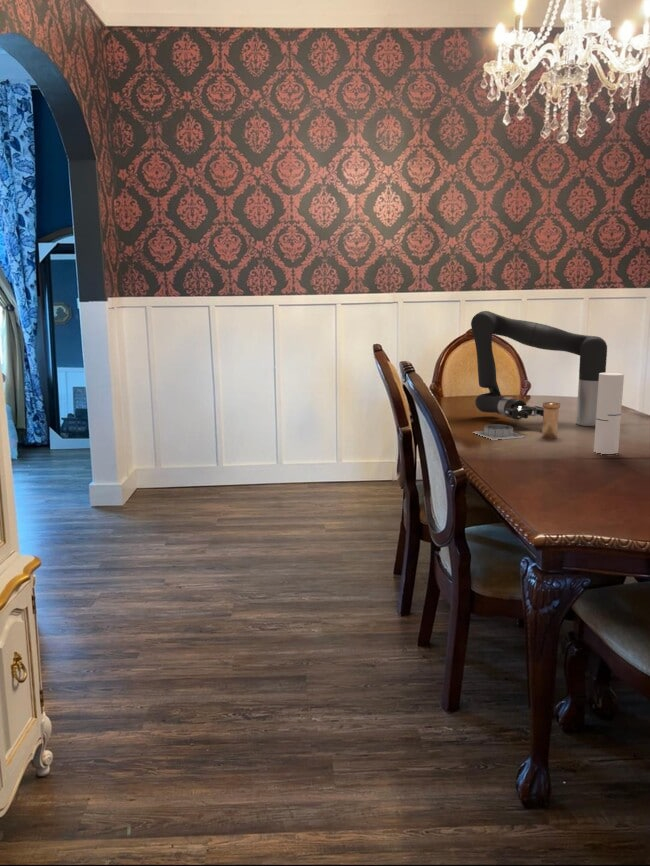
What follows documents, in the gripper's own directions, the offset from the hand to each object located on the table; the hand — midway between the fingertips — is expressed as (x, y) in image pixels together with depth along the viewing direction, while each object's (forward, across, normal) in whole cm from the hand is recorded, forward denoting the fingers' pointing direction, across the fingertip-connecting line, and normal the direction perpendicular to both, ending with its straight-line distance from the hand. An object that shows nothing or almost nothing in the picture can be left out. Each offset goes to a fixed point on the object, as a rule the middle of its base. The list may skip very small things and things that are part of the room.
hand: (537, 414), depth 249 cm
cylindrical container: (+34, +2, +7) cm, 34 cm away
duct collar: (-1, -15, +7) cm, 16 cm away
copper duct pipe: (+8, 0, +7) cm, 10 cm away
